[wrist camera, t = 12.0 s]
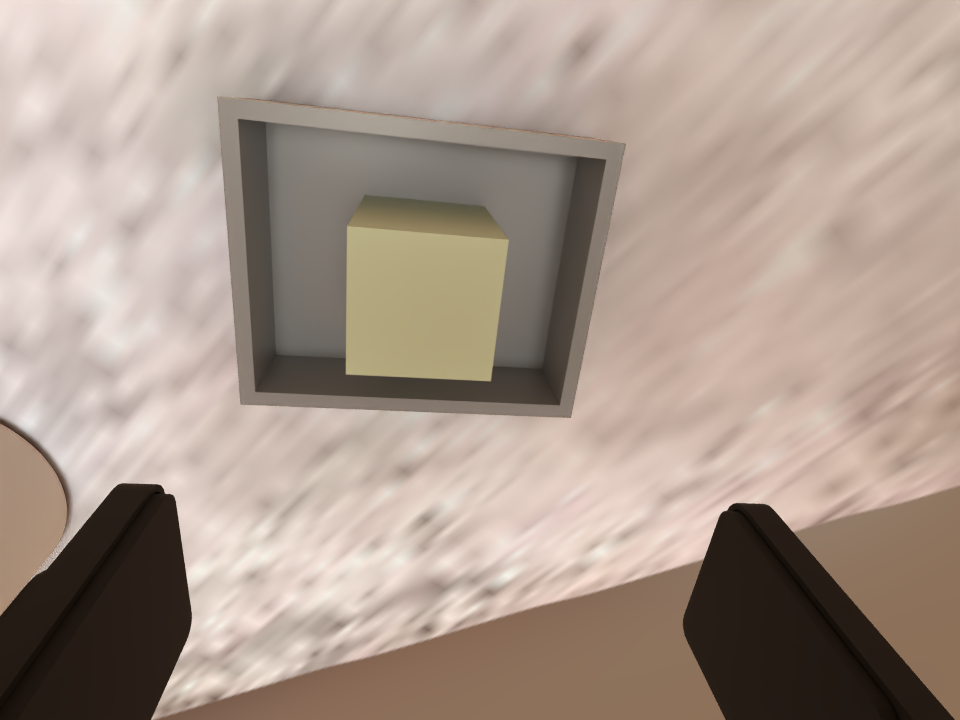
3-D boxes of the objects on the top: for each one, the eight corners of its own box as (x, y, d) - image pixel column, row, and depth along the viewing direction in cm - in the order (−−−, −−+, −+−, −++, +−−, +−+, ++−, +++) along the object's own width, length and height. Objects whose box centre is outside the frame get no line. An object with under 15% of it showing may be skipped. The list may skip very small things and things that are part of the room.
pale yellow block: (484, 205, 28) (508, 239, 21) (472, 316, 31) (490, 381, 23) (364, 194, 27) (347, 226, 20) (362, 309, 30) (345, 374, 23)
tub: (591, 138, 28) (625, 143, 23) (549, 375, 33) (570, 417, 29) (252, 98, 26) (217, 96, 21) (265, 361, 31) (240, 404, 26)
